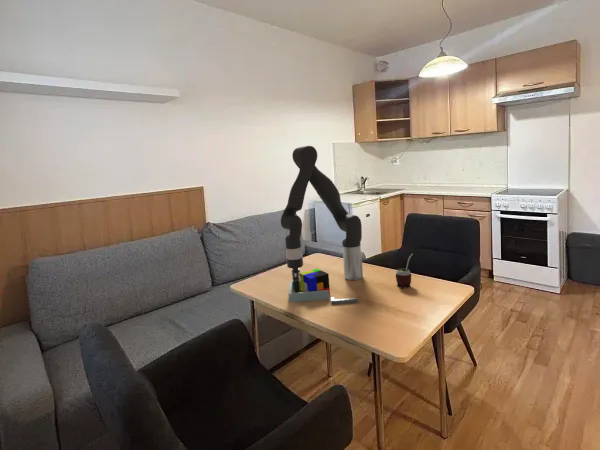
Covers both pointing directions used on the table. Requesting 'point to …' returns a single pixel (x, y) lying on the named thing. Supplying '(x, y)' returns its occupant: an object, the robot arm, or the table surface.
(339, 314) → the table surface
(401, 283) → the mate gourd
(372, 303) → the table surface
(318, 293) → the grey-blue flat square frame
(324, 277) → the puzzle toy
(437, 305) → the table surface
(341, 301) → the crook tool
